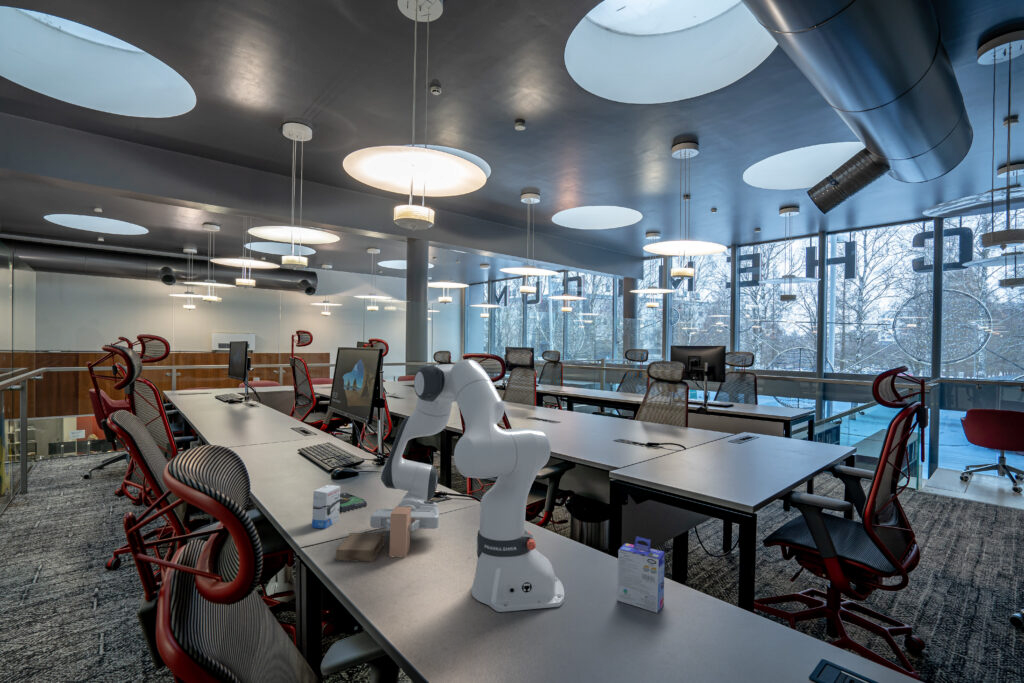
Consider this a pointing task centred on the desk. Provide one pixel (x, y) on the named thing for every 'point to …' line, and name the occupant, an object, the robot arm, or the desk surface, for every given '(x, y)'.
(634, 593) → the ink cartridge box
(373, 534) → the plinth
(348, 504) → the disk drive
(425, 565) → the desk surface
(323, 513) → the ink box
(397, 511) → the terracotta block
